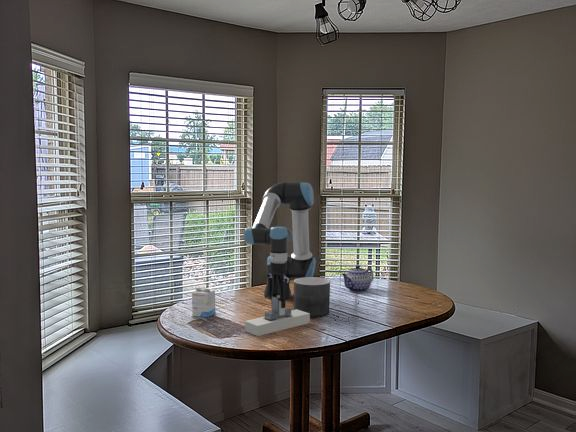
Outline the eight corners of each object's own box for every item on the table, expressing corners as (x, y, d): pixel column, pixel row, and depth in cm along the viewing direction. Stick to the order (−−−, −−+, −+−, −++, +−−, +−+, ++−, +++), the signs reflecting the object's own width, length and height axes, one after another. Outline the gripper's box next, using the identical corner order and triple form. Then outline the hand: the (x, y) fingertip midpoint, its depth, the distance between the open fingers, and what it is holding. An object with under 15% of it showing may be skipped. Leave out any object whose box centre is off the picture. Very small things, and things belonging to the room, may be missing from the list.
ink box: (215, 313, 254) (215, 286, 253) (207, 317, 247) (207, 289, 245) (200, 311, 257) (200, 284, 256) (191, 316, 249) (191, 288, 248)
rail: (257, 336, 220) (257, 325, 219) (244, 331, 227) (244, 321, 226) (309, 323, 239) (309, 313, 239) (296, 318, 246) (296, 309, 246)
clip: (270, 329, 228) (270, 299, 226) (264, 326, 231) (264, 298, 229) (291, 323, 235) (291, 295, 234) (285, 321, 238) (285, 293, 237)
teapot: (364, 285, 318) (364, 261, 317) (382, 290, 305) (383, 265, 304) (332, 290, 304) (333, 265, 302) (350, 296, 291) (350, 269, 290)
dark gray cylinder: (310, 305, 270) (311, 275, 268) (337, 312, 257) (337, 281, 256) (286, 312, 257) (286, 280, 256) (312, 319, 245) (312, 286, 243)
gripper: (259, 260, 234) (259, 310, 237) (284, 265, 221) (284, 319, 224) (272, 258, 239) (272, 308, 241) (298, 263, 226) (297, 316, 228)
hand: (278, 313), depth 233 cm, fingers open, 4 cm apart
